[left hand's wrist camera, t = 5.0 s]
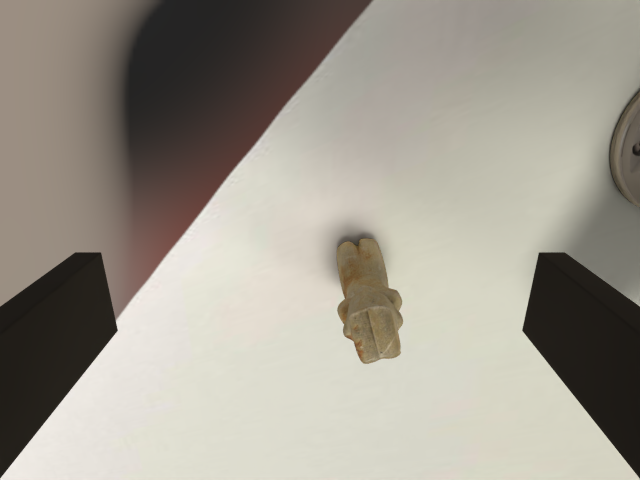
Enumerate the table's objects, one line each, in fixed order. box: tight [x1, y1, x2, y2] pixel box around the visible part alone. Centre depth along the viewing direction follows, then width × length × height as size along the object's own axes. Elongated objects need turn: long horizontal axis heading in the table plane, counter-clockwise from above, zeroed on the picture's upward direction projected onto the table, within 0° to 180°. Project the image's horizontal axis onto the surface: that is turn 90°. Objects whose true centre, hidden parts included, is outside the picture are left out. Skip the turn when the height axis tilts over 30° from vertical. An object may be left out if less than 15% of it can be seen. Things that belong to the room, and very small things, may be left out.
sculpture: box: [337, 239, 403, 364], centre depth 39 cm, size 6×7×15 cm
